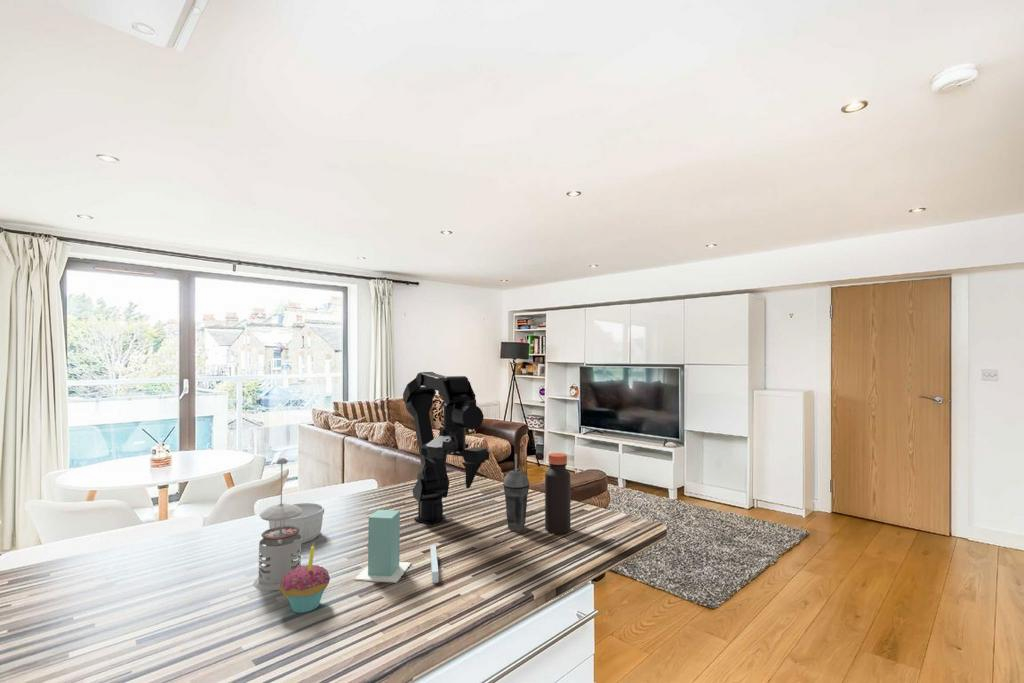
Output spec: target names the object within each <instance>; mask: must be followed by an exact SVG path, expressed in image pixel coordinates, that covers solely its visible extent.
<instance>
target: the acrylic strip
mask: <svg viewBox="0 0 1024 683" xmlns="http://www.w3.org/2000/svg"><path fill="white" fill-rule="evenodd" d="M429 548H430V549H429V550H430V552H429V553H430V556H431V557H430V568H431V570H432V571H431V570H430V571H431V582H432V584H434V583H435V584H436V583H437V584H438V583H439V565H438V555H437V546H436V545H430V546H429Z"/></svg>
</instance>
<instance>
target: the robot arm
mask: <svg viewBox="0 0 1024 683" xmlns="http://www.w3.org/2000/svg"><path fill="white" fill-rule="evenodd" d="M437 391H438V392H437ZM437 394H438V395H439V397H441V398H442V402H441V404H440V405H441V406H442V407H443V423H442V424H443V426H442V427H443V428H440V429H439V433H438V436H437V437H435V436H434V432H433V426H432V420H431V416H430V414H431V413H430V411H431V409H432V406H433V405H434V398H435V396H436V395H437ZM402 399H403V403H404V404H405V409H406V411H407V412H408V413H409V414H410V415H411V416H412V418H413V424H414V428H415V429H414V430H415V434H416V435H415V436H416V440H417V441H416V442H417V447H418V448H417V449H418V453H419V459H420V468H419V470H418V472H417V474H416V476H417V477H416V478H417V479H416V480H417V481H416V483H415V485H414V486H413V489H412V496H413V497H412V498H413V499H414V500H416V501H418V502H417V503H418V505H417V506H418V511H417V512H418V514H417V516H416V517H414V518H413V520H414V521H416V522H421V523H424V524H427V525H431V524H435V523H438V522H439V521H442V520H445V519H446V518H447V517H446V515H444V504H443V498H447V497H448V493H449V489H450V479H449V476H448V473H447V472H448V471H447V466H446V465H447V464H446V463H447V458H448V457H447V456H448V455H449V456H456V457H462V459H463V460H464V462H462V465H463V467H464V468H465V488H466V489H468V490H469V489H470V488H471V486H472V484H473V482H474V479H475V477H476V475H477V473H478V470H479V469H480V468H481V466H482V464H484V463H486V461H488V460H490V451H489V449H487V447H478V446H475V447H471V448H469V443H466V436H467V435H466V433H469V431H470V430H477V429H478V428H480V426H481V425H482V424H483V421H484V414H483V411H482V409H481V408H480V407H478V406H477V399H476V394H475V391H474V389H473V387H472V384H471V382H470V380H469V378H468V377H467V376H466V375H456V376H455V375H453V376H451V375H450V376H449V375H448V376H446V375H442V374H439V373H436V372H433V371H422V372H418V373H417V375H416V376H415V378H414V379H412V380H411V381H410V382H408V383H407V384H406V387H405V388H404V391H403V393H402Z"/></svg>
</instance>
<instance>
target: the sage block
mask: <svg viewBox="0 0 1024 683" xmlns="http://www.w3.org/2000/svg"><path fill="white" fill-rule="evenodd" d="M400 526H401V510H392V509H391V510H390V509H388V510H387V509H378V510H376V511H374V512H373V513H372V514H371V515H369V516H368V529H367V530H368V531H367V532H368V535H367V538H368V541H367V542H368V543H367V545H368V546H367V552H368V553H367V556H368V557H367V566H368V575H376V576H392V574H393V573H394V572H395V571H396V570H397V568H398V567H399V562H400V542H401V541H400V540H401V539H400V538H401V536H400V535H401V531H400V530H401V527H400Z"/></svg>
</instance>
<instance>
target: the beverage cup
mask: <svg viewBox="0 0 1024 683" xmlns="http://www.w3.org/2000/svg"><path fill="white" fill-rule="evenodd" d="M530 486H531V485H530V480H529V477H528V476H527V474H526V473H525V472H524V471H522V470H521V469H518V454H517V453H515V454H514V469H512V470H510V471H508V472H507V473H506V475H505V476H504V479H503V484H502V487H503V492H504V500H505V512H506V521H507V522H506V523H507V529H508V530H509V529H510V530H509V531H511V530H516V531H515V532H519V531H518V530H522V531H524V530H525V525H526V520H527V518H526V516H527V508H528V506H527V505H528V494H529V492H530ZM523 529H524V530H523Z"/></svg>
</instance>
